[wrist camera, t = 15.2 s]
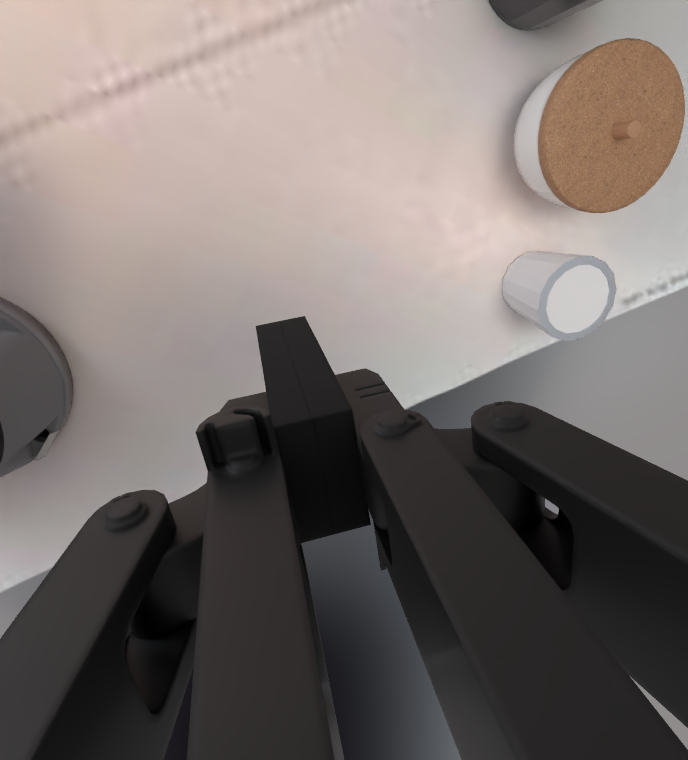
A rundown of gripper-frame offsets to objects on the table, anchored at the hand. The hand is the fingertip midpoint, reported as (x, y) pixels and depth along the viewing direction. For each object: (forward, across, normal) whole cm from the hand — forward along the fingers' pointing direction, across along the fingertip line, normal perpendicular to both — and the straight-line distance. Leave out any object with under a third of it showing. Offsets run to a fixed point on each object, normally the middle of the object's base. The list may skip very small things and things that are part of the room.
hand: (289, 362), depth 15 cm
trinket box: (+27, +26, +4) cm, 37 cm away
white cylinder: (+27, +24, -8) cm, 37 cm away
